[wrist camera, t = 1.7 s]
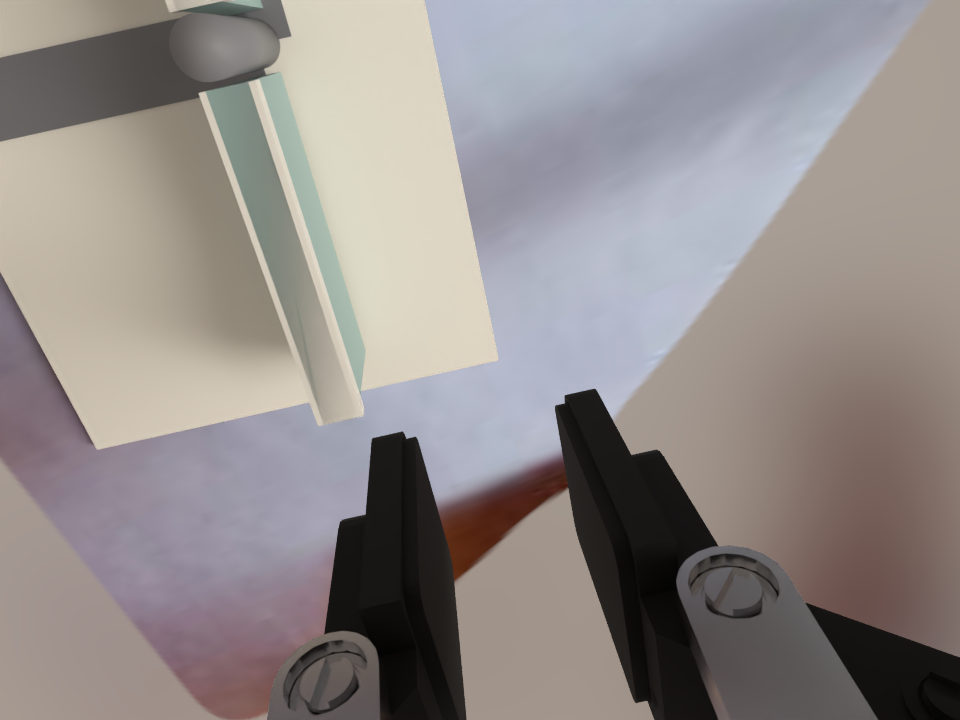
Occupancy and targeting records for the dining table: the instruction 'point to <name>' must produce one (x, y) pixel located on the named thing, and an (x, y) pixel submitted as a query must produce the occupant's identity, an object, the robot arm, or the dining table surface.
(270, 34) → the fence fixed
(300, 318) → the pale open channel
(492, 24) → the dining table surface
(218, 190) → the card
